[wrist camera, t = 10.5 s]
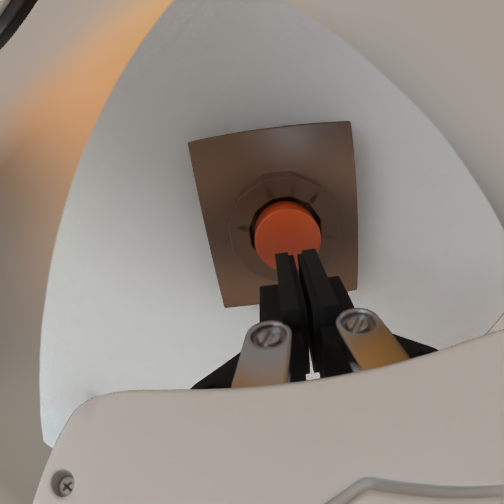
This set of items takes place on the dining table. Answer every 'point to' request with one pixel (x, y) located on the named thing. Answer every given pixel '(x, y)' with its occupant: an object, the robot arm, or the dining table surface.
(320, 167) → the button block
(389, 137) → the dining table surface
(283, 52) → the dining table surface
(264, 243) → the button
